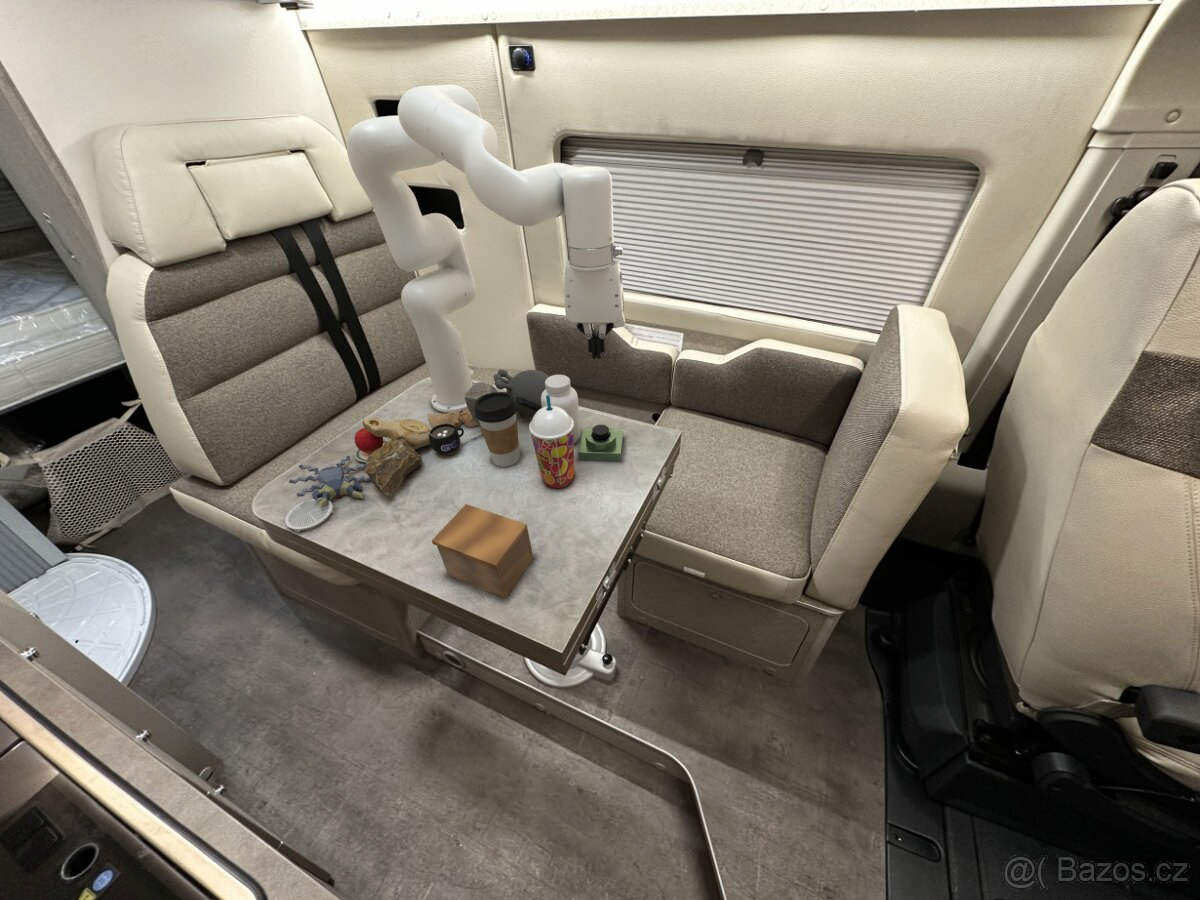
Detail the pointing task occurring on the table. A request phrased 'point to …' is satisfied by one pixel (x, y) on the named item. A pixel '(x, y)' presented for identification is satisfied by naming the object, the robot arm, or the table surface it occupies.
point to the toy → (332, 482)
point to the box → (491, 568)
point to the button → (600, 432)
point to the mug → (446, 438)
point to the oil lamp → (400, 430)
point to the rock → (391, 465)
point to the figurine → (452, 419)
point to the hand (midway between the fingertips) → (597, 355)
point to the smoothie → (553, 444)
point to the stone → (477, 396)
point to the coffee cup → (499, 426)
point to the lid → (480, 535)
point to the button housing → (601, 446)
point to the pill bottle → (563, 399)
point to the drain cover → (317, 512)
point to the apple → (367, 444)
